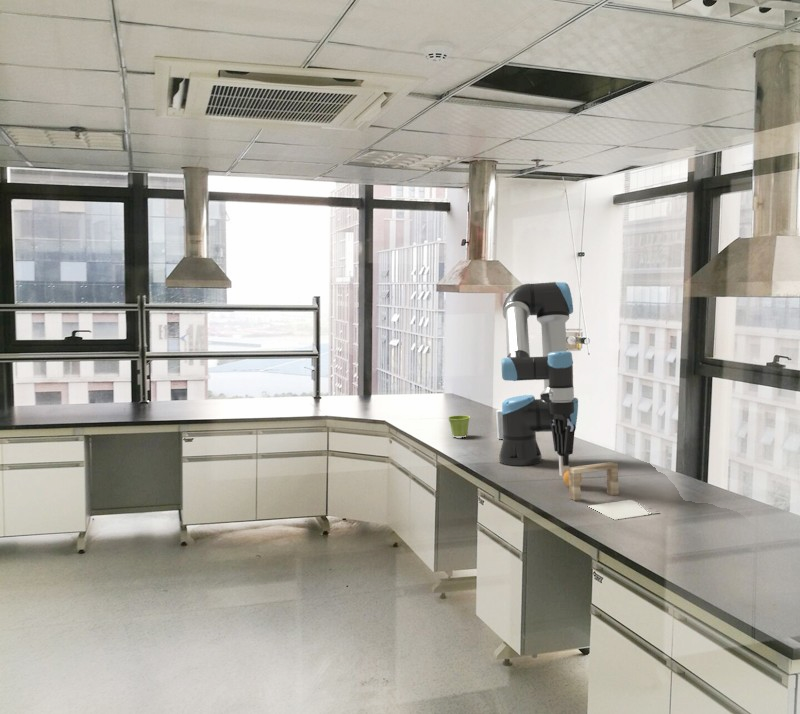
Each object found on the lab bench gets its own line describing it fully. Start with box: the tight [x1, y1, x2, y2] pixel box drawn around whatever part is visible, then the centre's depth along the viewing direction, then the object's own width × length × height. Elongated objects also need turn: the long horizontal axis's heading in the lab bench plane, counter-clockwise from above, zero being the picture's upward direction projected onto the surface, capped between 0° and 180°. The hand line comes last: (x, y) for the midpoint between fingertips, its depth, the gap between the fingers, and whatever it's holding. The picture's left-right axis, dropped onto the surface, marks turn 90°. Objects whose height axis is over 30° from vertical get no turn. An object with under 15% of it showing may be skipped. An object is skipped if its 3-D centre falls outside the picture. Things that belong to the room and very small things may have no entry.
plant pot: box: [447, 414, 471, 436], centre depth 321 cm, size 9×9×9 cm
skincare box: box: [495, 409, 503, 440], centre depth 313 cm, size 6×4×12 cm
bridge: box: [568, 461, 620, 501], centre depth 221 cm, size 3×14×9 cm, turn 106°
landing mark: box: [587, 499, 651, 521], centre depth 207 cm, size 14×14×1 cm
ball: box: [562, 471, 583, 487], centre depth 233 cm, size 6×6×6 cm
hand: (564, 475), depth 237 cm, fingers closed
